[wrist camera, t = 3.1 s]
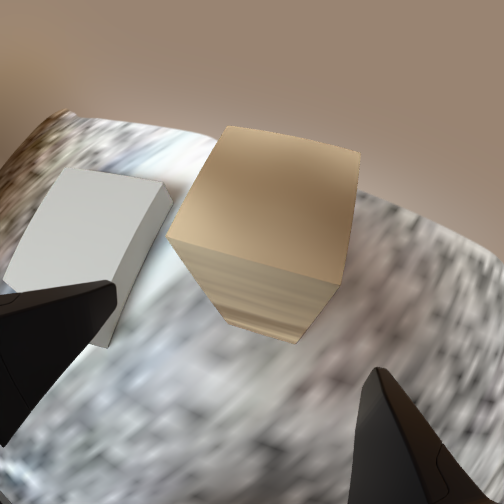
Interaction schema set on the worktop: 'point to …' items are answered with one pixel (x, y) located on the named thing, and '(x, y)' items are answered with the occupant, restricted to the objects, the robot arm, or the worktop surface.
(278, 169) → the birch block
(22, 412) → the robot arm
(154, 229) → the light grey slab
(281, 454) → the worktop surface
